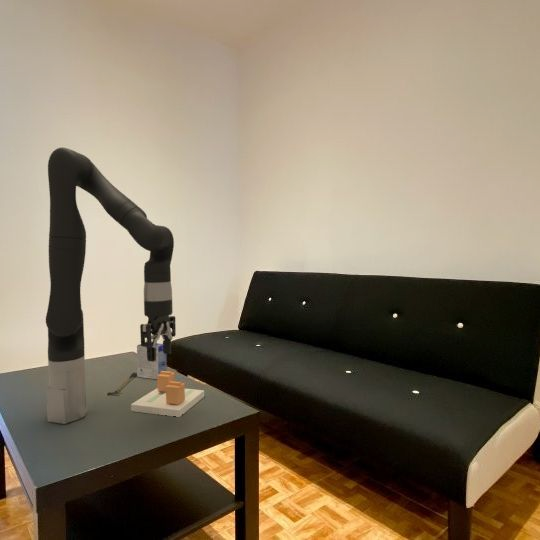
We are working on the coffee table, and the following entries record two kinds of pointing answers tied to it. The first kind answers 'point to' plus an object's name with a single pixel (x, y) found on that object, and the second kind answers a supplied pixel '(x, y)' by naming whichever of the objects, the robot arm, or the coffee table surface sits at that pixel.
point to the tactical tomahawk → (122, 385)
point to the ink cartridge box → (150, 362)
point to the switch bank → (158, 405)
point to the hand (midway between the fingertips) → (159, 356)
